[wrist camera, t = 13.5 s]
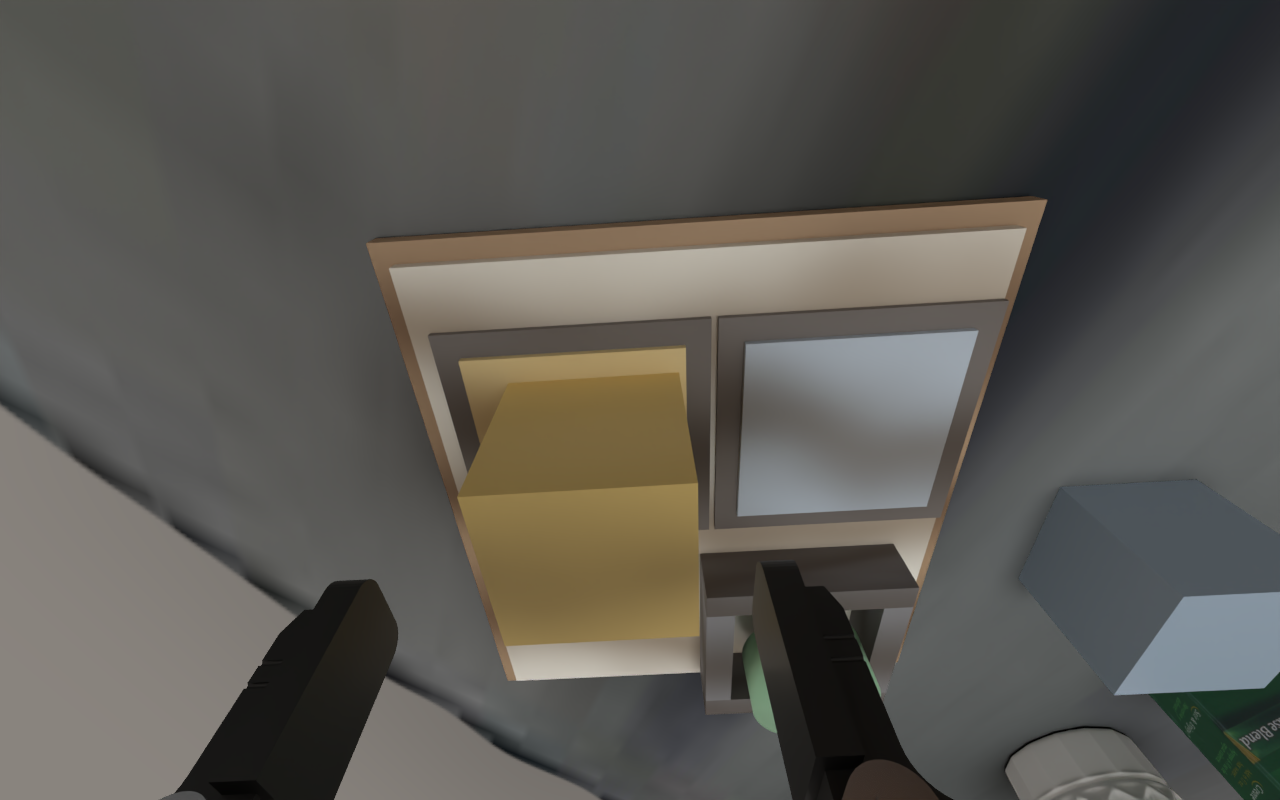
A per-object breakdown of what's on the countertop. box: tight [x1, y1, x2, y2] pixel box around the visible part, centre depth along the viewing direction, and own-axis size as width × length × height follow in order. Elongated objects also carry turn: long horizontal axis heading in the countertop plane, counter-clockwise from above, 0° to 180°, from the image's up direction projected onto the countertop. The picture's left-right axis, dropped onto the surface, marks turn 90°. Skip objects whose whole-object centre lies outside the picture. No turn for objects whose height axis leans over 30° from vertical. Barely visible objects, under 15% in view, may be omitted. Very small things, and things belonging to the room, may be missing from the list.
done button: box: [742, 626, 881, 733], centre depth 18 cm, size 4×4×2 cm
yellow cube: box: [457, 372, 699, 646], centre depth 14 cm, size 5×5×5 cm
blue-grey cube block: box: [1018, 479, 1280, 695], centre depth 18 cm, size 5×5×5 cm
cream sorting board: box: [366, 196, 1047, 715], centre depth 18 cm, size 20×18×3 cm
